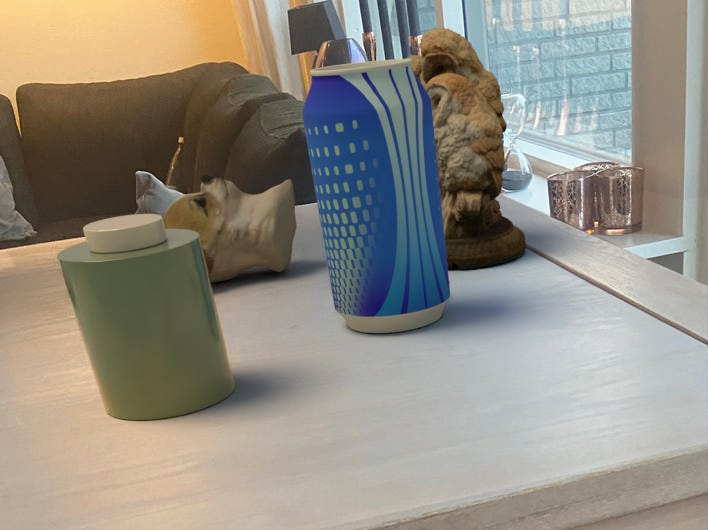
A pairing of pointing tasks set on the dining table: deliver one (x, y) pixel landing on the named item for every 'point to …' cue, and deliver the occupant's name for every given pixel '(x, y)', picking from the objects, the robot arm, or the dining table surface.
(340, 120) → the beer can
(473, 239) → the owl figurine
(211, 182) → the ceramic sculpture
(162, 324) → the green lidded jar
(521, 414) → the dining table surface
